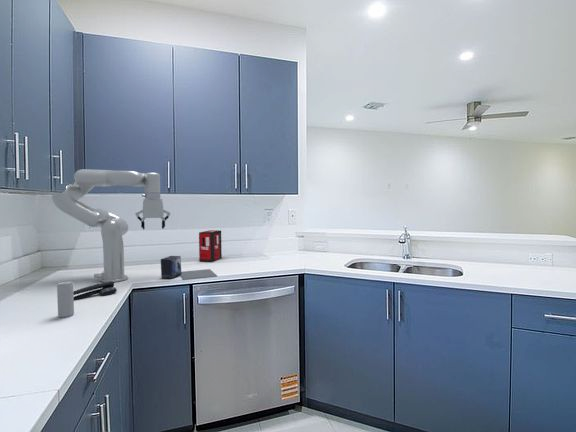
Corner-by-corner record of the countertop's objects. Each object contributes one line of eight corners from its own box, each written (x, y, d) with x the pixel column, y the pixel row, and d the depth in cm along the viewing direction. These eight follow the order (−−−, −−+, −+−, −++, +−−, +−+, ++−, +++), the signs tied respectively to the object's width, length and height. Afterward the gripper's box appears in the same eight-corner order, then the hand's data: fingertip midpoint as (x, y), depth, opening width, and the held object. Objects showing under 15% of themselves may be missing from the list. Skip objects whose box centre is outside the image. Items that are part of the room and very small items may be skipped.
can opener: (112, 291, 156) (112, 279, 155) (118, 294, 151) (117, 281, 151) (67, 299, 143) (67, 286, 143) (72, 302, 138) (71, 289, 138)
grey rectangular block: (55, 316, 120) (53, 283, 120) (68, 312, 125) (67, 280, 124) (63, 318, 119) (62, 284, 118) (77, 314, 123) (76, 281, 122)
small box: (172, 278, 177) (170, 259, 177) (160, 278, 179) (159, 259, 178) (182, 274, 188) (181, 255, 187) (171, 274, 189) (170, 255, 188)
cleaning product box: (211, 262, 226) (211, 232, 225) (199, 262, 228) (198, 232, 227) (221, 258, 242) (221, 230, 241) (210, 258, 244) (209, 230, 243)
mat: (182, 279, 176) (182, 279, 176) (178, 272, 194) (178, 271, 194) (217, 276, 184) (217, 275, 184) (209, 269, 202) (209, 269, 202)
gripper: (134, 196, 171) (135, 230, 172) (170, 196, 178) (171, 228, 179) (134, 196, 178) (135, 228, 178) (169, 196, 185) (169, 227, 186)
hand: (153, 228), depth 179 cm, fingers open, 9 cm apart
